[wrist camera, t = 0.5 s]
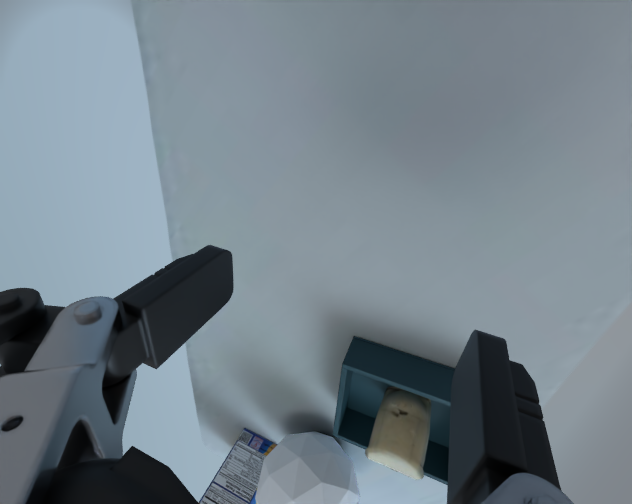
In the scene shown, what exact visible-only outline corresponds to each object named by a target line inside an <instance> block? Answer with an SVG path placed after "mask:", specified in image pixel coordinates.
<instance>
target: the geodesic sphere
mask: <svg viewBox="0 0 632 504" xmlns="http://www.w3.org/2000/svg"><path fill="white" fill-rule="evenodd" d="M255 499H256V503H257V504H358V502H359V499H360V494H359V489H358V484H357V479H356V475H355V470H354V465H353V461H352V460H351V459H350V458H349V456H348V455H347V454H346V453H345V451H344V450H343V449H342V448H341V446H340V445H339V444H338V443H337V442H336V440H335V439H334V438H333V437H330V436H328V435H325V434H322V433H319V432H316V431H314V432H306V433H298V434H290V435H286V436H285V438H284V439H283V440H282V441H281V442H280V443H279V444H278V445H277V446H276V447H275V448H274V449H273V450H272V451H271V452H270V453H269V454H268V455H267V456H266V457H265V458H264V460H263V465H262V469H261V474H260V478H259V483H258V487H257V492H256V496H255Z"/></svg>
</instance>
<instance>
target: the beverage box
mask: <svg viewBox="0 0 632 504" xmlns="http://www.w3.org/2000/svg"><path fill="white" fill-rule="evenodd" d="M276 446H277V445H276V444H274V443H272V442H271V441H269V440H267V439H265V438H263V437H261V436H259V435H257V434H256V433H254V432H252V431H250V430H248V429H246V428H245V429H244V430H243V432H242V433H241V435H240V437H239V438H238V440H237V441H236V443H235V445H234V446H233V448H232V450H231V451H230V453H229V454H228V456H227V458H226V459H225V461H224V463H223V464H222V466H221V467H220V469H219V471H218V472H217V474H216V476H215V477H214V479H213V480H212V482H211V484H210V485H209V487H208V488H207V490H206V492H205V493H204V495H203V497H202V499H201V500H200V501H199V504H257V503H256V499H255V496H256V492H257V487H258V483H259V478H260V474H261V469H262V465H263V460H264V458H265V457H266V456H267V455H268V454H269V453H270V452H271V451H272V450H273V449H274V448H275V447H276Z"/></svg>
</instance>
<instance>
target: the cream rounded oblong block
mask: <svg viewBox="0 0 632 504" xmlns="http://www.w3.org/2000/svg"><path fill="white" fill-rule="evenodd" d="M430 418H431V400H430V399H428V398H425V397H423V396H420V395H417V394H414V393H412V392H409V391H406V390H403V389H401V388H398V387H388V388H387V389H386V391H385V393H384V397H383V399H382V402H381V405H380V408H379V410H378V413H377V416H376V419H375V423H374V427H373V431H372V434H371V438H370V442H369V446H368V448H367V449H366V450H365V454H366V456H367V458H368V459H370V460H372V461H374V462H377V463H380V464H382V465H384V466H386V467H388V468H390V469H392V470H394V471H397V472H400V473H402V474H404V475H406V476H408V477H410V478H413V479H415V480H420V479H422V478H423V477H424V471H423V465H424V461H425V455H426V450H427V445H428V439H429V432H430Z"/></svg>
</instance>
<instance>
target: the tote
mask: <svg viewBox="0 0 632 504" xmlns="http://www.w3.org/2000/svg"><path fill="white" fill-rule="evenodd" d="M454 371H455V369H454V368H450V367H447V366H444V365H441V364H438V363H435V362H432V361H429V360H426V359H423V358H420V357H417V356H414V355H411V354H408V353H404V352H401V351H398V350H395V349H392V348H389V347H386V346H383V345H380V344H377V343H374V342H371V341H368V340H365V339H362V338H358V337H355V336H354V337H353V340H352V342H351V345H350V347H349V349H348V352H347V354H346V357H345V359H344V361H343V364H342V371H341V378H340V385H339V393H338V400H337V407H336V414H335V422H334V429H333V436H335V437H338V438H340V439H342V440H345V441H347V442H349V443H351V444H354V445H356V446H358V447H361V448H363V449H365V450H366V449H367V448H368V446H369V442H370V438H371V434H372V431H373V427H374V423H375V419H376V416H377V413H378V410H379V408H380V405H381V402H382V399H383V397H384V393H385V391H386V389H387V388H388V387H398V388H401V389H403V390H406V391H409V392H412V393H414V394H417V395H420V396H423V397H425V398H428V399H430V400H431V418H430V432H429V439H428V445H427V450H426V455H425V461H424V465H423V471H424V475H425V476H428V477H430V478H432V479H435V480H437V481H439V482H442V483H444V484H446V485H448V464H449V435H450V407H451V385H452V379H453V375H454Z"/></svg>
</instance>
